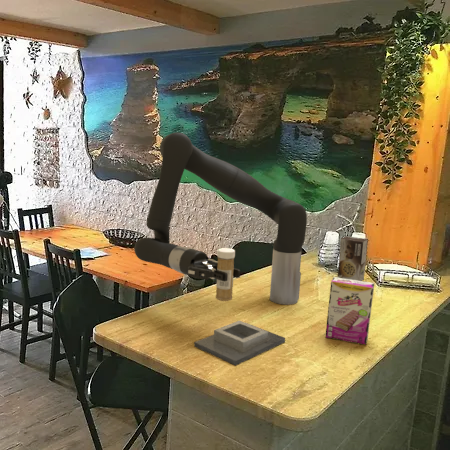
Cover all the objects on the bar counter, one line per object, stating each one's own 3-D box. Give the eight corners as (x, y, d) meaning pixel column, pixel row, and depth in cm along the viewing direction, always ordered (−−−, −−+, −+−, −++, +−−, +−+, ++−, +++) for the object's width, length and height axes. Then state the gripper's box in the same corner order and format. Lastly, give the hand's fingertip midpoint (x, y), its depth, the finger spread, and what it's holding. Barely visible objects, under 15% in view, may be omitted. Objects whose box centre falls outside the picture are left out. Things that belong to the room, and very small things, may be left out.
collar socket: (244, 326, 140) (245, 314, 139) (285, 342, 131) (286, 329, 130) (194, 346, 125) (194, 332, 125) (235, 365, 116) (236, 351, 116)
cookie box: (364, 279, 193) (368, 239, 190) (359, 283, 188) (363, 241, 185) (342, 274, 198) (345, 235, 195) (336, 278, 192) (340, 238, 189)
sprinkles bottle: (235, 297, 132) (237, 249, 129) (228, 302, 128) (230, 252, 125) (219, 294, 134) (222, 246, 131) (212, 299, 129) (214, 250, 127)
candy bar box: (324, 338, 135) (330, 280, 132) (327, 331, 139) (332, 276, 136) (367, 346, 131) (373, 287, 128) (368, 339, 136) (374, 282, 133)
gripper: (169, 252, 133) (214, 266, 121) (207, 245, 143) (251, 257, 132) (168, 278, 134) (213, 295, 123) (205, 269, 145) (250, 284, 133)
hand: (232, 275), depth 127 cm, fingers closed on sprinkles bottle, 4 cm apart
